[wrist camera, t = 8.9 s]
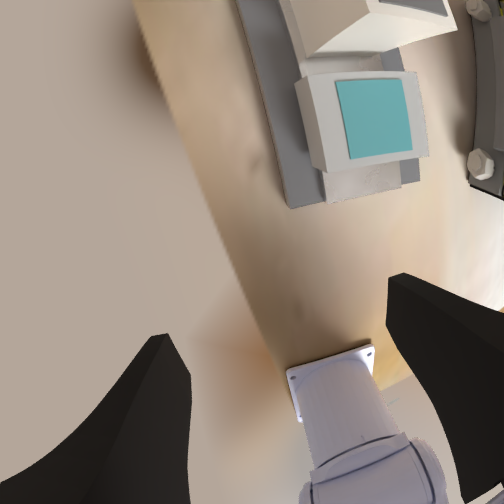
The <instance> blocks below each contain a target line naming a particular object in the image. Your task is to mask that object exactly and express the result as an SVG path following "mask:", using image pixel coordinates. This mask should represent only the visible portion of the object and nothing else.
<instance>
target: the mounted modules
mask: <svg viewBox="0 0 504 504" xmlns="http://www.w3.org/2000/svg"><path fill="white" fill-rule="evenodd" d="M294 86H295V90H296V94H297V98H298V102H299V106H300V111H301V115H302V119H303V124H304V129H305V133H306V138H307V143H308V148H309V153H310V158H311V163H312V166H313V167H315V168H317V169H319V170H321V171H324V172H326V173H332V172H337V171H342V170H348V169H353V168H358V167H364V166H369V165H375V164H381V163H387V162H393V161H399V160H406V159H413V158H420V157H427V156H429V147H428V138H427V129H426V122H425V115H424V109H423V103H422V97H421V92H420V87H419V82H418V78H417V73H416V72H402V71H359V72H339V73H326V74H316V75H307V76H305V77H304V78H302V79H300V80H299V81H297V82H296V83H294Z"/></svg>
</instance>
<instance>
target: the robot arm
mask: <svg viewBox="0 0 504 504" xmlns="http://www.w3.org/2000/svg"><path fill="white" fill-rule="evenodd" d="M386 327H387V329H388V331H389V333H390V335H391V337H392V339H393V341H394V343H395V345H396V347H397V349H398V350H399V352H400V353H401V355H402V356H403V358H404V359H405V361H406V362H407V364H408V365H409V367H410V368H411V370H412V371H413V373H414V374H415V376H416V377H417V379H418V380H419V382H420V384H421V385H422V387H423V388H424V390H425V391H426V393H427V394H428V396H429V398H430V400H431V402H432V403H433V405H434V407H435V410H436V412H437V414H438V417H439V419H440V421H441V423H442V426H443V428H444V431H445V434H446V437H447V439H448V442H449V445H450V448H451V452H452V455H453V458H454V462H455V465H456V470H457V474H458V480H459V484H460V491H461V497H462V498H463V501H464V503H465V504H467V503H469V502H471V501H473V500H474V499H476V498H478V497H479V496H481V495H483V494H484V493H486V492H488V491H489V490H491V489H492V488H494V487H495V486H497V485H498V484H499V483H500V482H501V484H502V486H503V488H504V313H502V312H498V311H495V310H493V309H490V308H487V307H485V306H482V305H479V304H477V303H474V302H472V301H469V300H467V299H465V298H462V297H460V296H458V295H455V294H453V293H451V292H449V291H446V290H444V289H442V288H440V287H437V286H435V285H433V284H431V283H428V282H426V281H424V280H422V279H419V278H417V277H414V276H412V275H409V274H406V273H401V274H398V275H395V276H392V277H389V278H388V299H387V314H386ZM374 351H375V347H374V346H373V344H367V345H365V346H362V347H359V348H356V349H353V350H350V351H347V352H344V353H341V354H338V355H335V356H331V357H328V358H325V359H321V360H318V361H314V362H311V363H307V364H304V365H300V366H296V367H293V368H289V369H288V370H287V371H286V376H287V380H288V383H289V387H290V391H291V395H292V399H293V403H294V407H295V411H296V415H297V419H298V422H303V425H304V428H305V432H306V436H307V440H308V444H309V448H310V452H311V456H312V460H313V464H314V467H315V470H312V471H310V476H311V480H312V481H309V482H307V483H305V485H304V487H303V489H302V490H301V492H300V495H299V504H449V502H448V498H447V495H446V481H445V477H444V473H443V470H442V468H441V465H440V463H439V460H438V459H437V456H436V455H435V453H434V451H433V449H432V448H431V446H430V445H429V444H428V443H427V442H426V441H425V440H422V439H419V438H417V437H414V438H412V439H411V440H408V439H407V436H406V434H405V432H403V433H400V431H399V429H398V427H397V425H396V423H395V421H394V419H393V417H392V415H391V413H390V411H389V409H388V406H387V404H386V402H385V400H384V398H383V396H382V394H381V393H380V391H379V389H378V387H377V385H376V383H375V381H374V379H373V377H372V371H373V362H374ZM191 406H192V391H191V375H190V373H189V371H188V369H187V367H186V366H185V364H184V362H183V360H182V359H181V357H180V355H179V353H178V351H177V350H176V348H175V346H174V344H173V342H172V340H171V338H170V336H169V334H167V333H166V334H161V335H155V336H151V337H150V338H149V339H148V341H147V342H146V343H145V344H144V346H143V347H142V348H141V350H140V351H139V352H138V354H137V355H136V356H135V358H134V359H133V360H132V362H131V363H130V364H129V366H128V367H127V368H126V370H125V371H124V372H123V374H122V375H121V377H120V378H119V379H118V381H117V382H116V383H115V385H114V386H113V387H112V388H111V390H110V391H109V392H108V393H107V395H106V396H105V397H104V398H103V400H102V401H101V402H100V403H99V405H98V406H97V407H96V408H95V409H94V410H93V412H92V413H91V414H90V415H89V416H88V417H87V418H86V419H85V421H83V422H82V423H81V424H80V426H79V427H78V428H77V429H76V430H75V431H74V432H73V433H71V434H70V435H69V436H68V437H67V438H66V439H65V440H64V441H63V442H61V443H60V444H59V445H58V446H57V447H56V448H54V449H53V450H52V451H51V452H50V453H48V454H47V455H46V456H44V457H43V458H42V459H40V460H39V461H37V462H36V463H34V464H33V465H32V466H30V467H28V468H27V469H25V470H23V471H22V472H20V473H18V474H16V475H14V476H12V477H11V478H9V479H7V480H5V481H2V482H1V483H0V504H191V503H190V495H189V484H188V470H187V460H188V444H189V431H190V418H191ZM486 504H504V490H502V491H501V492H500V493H499V494H497V495H496V496H495V497H494V498H492V499H491V500H490V501H489V502H487V503H486Z"/></svg>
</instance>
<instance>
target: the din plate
mask: <svg viewBox="0 0 504 504" xmlns="http://www.w3.org/2000/svg"><path fill="white" fill-rule="evenodd" d="M235 2H236V5H237V8H238V11H239V15H240V18H241V21H242V25H243V28H244V31H245V35H246V38H247V42H248V45H249V49H250V53H251V56H252V60H253V64H254V67H255V71H256V75H257V78H258V82H259V86H260V90H261V94H262V98H263V102H264V106H265V110H266V114H267V118H268V122H269V126H270V131H271V135H272V139H273V143H274V148H275V152H276V157H277V161H278V166H279V170H280V175H281V179H282V184H283V189H284V194H285V199H286V203H287V206H288V207H289V208H290V209H294V208H298V207H302V206H306V205H310V204H315V203H319V202H323V201H324V199H323V192H322V186H321V180H320V175H319V169H317V168H315V167H313V166H312V163H311V158H310V153H309V148H308V143H307V138H306V133H305V129H304V124H303V119H302V115H301V111H300V106H299V102H298V98H297V94H296V90H295V86H294V83H296V82H297V81H299V77H298V73H297V69H296V65H295V62H294V58H293V55H292V51H291V47H290V44H289V41H288V37H287V34H286V31H285V27H284V24H283V21H282V18H281V15H280V12H279V9H278V6H277V3H276V0H235ZM380 58H381V62H382V65H383V69H384V71H402V72H405V71H404V67H403V63H402V59H401V55H400V52H399V48H398V47H397V48H394V49H391V50H388V51H386V52H383V53H380ZM399 164H400V174H401V185H402V184H407V183H412V182H417V181H420V172H419V159H418V158H413V159H406V160H399Z"/></svg>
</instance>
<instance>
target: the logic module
mask: <svg viewBox="0 0 504 504" xmlns="http://www.w3.org/2000/svg"><path fill="white" fill-rule="evenodd" d="M290 3H291V6H292V9H293V12H294V15H295V18H296V22H297V25H298V28H299V32H300V35H301V38H302V42H303V46H304V49H305V53H306V57H307V58H314V57H331V56H375V55H378V54H380V53H383V52H386V51H388V50H391V49H394V48H397V47H400V46H403V45H406V44H409V43H412V42H415V41H419V40H422V39H425V38H429V37H432V36H436V35H440V34H444V33H448V32H452V31H456V30H458V29H457V26H456V23H455V20H454V17H453V14H452V12H451V9H450V6H449V4H448V1H447V0H290Z"/></svg>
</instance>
